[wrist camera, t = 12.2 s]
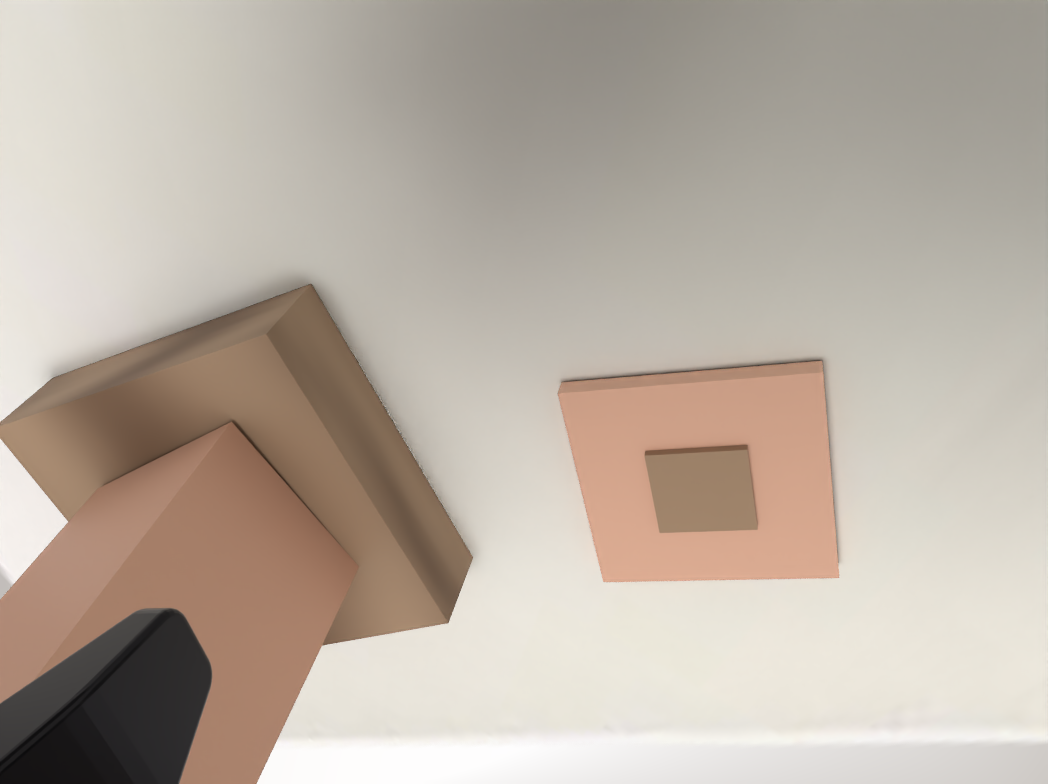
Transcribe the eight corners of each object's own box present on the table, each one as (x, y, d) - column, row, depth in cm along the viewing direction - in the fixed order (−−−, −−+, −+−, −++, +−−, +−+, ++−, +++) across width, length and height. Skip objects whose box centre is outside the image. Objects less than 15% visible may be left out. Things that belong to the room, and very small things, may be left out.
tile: (822, 360, 21) (823, 376, 20) (837, 564, 24) (839, 583, 23) (561, 382, 23) (555, 397, 22) (606, 569, 26) (602, 587, 25)
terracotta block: (231, 421, 22) (-170, 945, 12) (359, 567, 24) (97, 1119, 14) (97, 488, 24) (-333, 978, 15) (224, 616, 26) (-82, 1125, 17)
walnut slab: (319, 274, 23) (266, 333, 21) (477, 545, 27) (448, 622, 25) (63, 368, 27) (-8, 429, 24) (235, 597, 31) (188, 668, 28)
